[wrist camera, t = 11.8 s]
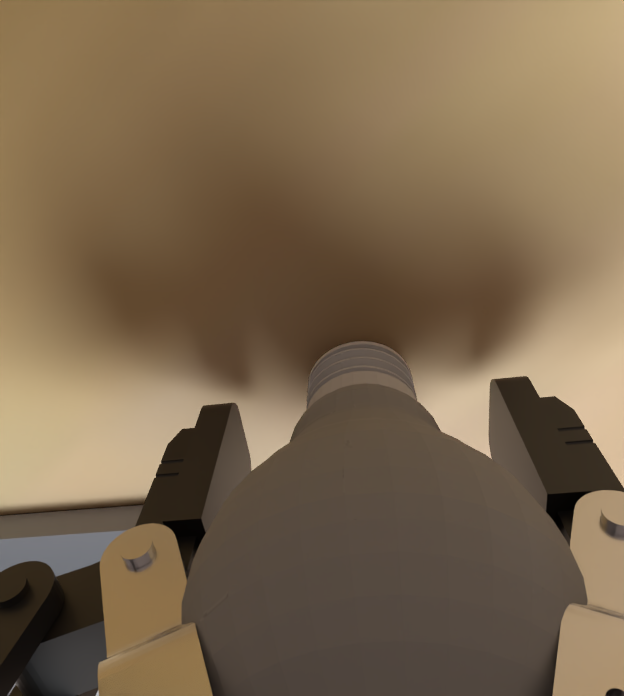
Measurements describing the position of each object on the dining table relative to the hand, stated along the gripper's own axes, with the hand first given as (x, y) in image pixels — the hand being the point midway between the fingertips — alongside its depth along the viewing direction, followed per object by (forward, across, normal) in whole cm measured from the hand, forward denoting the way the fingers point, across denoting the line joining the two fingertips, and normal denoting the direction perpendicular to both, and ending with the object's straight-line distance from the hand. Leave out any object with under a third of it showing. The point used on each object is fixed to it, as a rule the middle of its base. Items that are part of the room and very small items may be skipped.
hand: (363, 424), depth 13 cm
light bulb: (+2, 0, 0) cm, 2 cm away
